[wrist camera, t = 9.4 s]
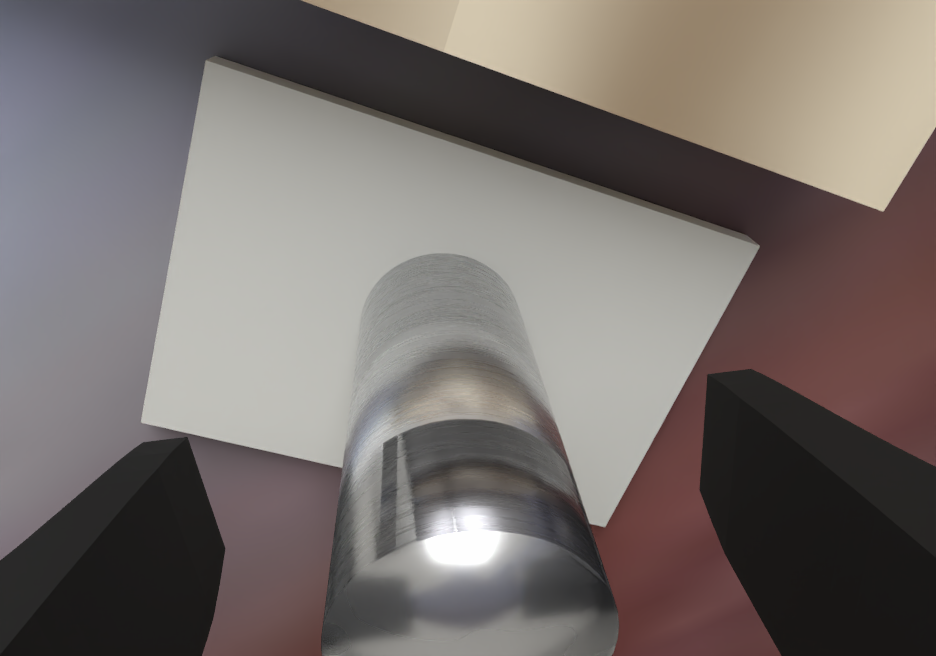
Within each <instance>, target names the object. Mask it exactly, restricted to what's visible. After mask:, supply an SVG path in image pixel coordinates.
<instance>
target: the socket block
mask: <svg viewBox="0 0 936 656" xmlns="http://www.w3.org/2000/svg"><path fill="white" fill-rule="evenodd" d="M301 1H304V2H307V3H310V4H312V5H315V6H318V7H321V8H324V9H326V10H329V11H332V12H335V13H337V14H340V15H343V16H346V17H348V18H351V19H354V20H357V21H359V22H362V23H365V24H368V25H370V26H373V27H376V28H379V29H381V30H384V31H387V32H390V33H392V34H395V35H398V36H401V37H403V38H406V39H409V40H412V41H414V42H417V43H420V44H423V45H425V46H428V47H431V48H434V49H436V50H439V51H442V52H445V53H448V54H450V55H453V56H456V57H459V58H461V59H464V60H467V61H470V62H472V63H475V64H478V65H481V66H483V67H486V68H489V69H492V70H494V71H497V72H500V73H503V74H505V75H508V76H511V77H514V78H516V79H519V80H522V81H525V82H527V83H530V84H533V85H536V86H538V87H541V88H544V89H547V90H549V91H552V92H555V93H558V94H561V95H563V96H566V97H569V98H572V99H574V100H577V101H580V102H583V103H585V104H588V105H591V106H594V107H596V108H599V109H602V110H605V111H607V112H610V113H613V114H616V115H618V116H621V117H624V118H627V119H629V120H632V121H635V122H638V123H640V124H643V125H646V126H649V127H651V128H654V129H657V130H660V131H662V132H665V133H668V134H671V135H674V136H676V137H679V138H682V139H685V140H687V141H690V142H693V143H696V144H698V145H701V146H704V147H707V148H709V149H712V150H715V151H718V152H720V153H723V154H726V155H729V156H731V157H734V158H737V159H740V160H742V161H745V162H748V163H751V164H753V165H756V166H759V167H762V168H764V169H767V170H770V171H773V172H775V173H778V174H781V175H784V176H786V177H789V178H792V179H795V180H798V181H800V182H803V183H806V184H809V185H811V186H814V187H817V188H820V189H822V190H825V191H828V192H831V193H833V194H836V195H839V196H842V197H844V198H847V199H850V200H853V201H855V202H858V203H861V204H864V205H866V206H869V207H872V208H875V209H877V210H880V211H883V212H884V210H885V208H886V207H887V205H888V204H889V202H890V200H891V199H892V197H893V195H894V194H895V192H896V191H897V189H898V187H899V186H900V184H901V182H902V181H903V179H904V178H905V176H906V174H907V173H908V171H909V169H910V168H911V166H912V165H913V163H914V161H915V160H916V158H917V156H918V155H919V153H920V152H921V150H922V148H923V147H924V145H925V144H926V142H927V140H928V139H929V137H930V135H931V134H932V132H933V131H934V129H935V127H936V0H301Z"/></svg>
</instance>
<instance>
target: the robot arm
mask: <svg viewBox="0 0 936 656" xmlns="http://www.w3.org/2000/svg"><path fill="white" fill-rule="evenodd" d="M700 492H701V495H702V497H703V500H704V503H705V505H706V508H707V510H708V513H709V516H710V518H711V521H712V524H713V526H714V528H715V531H716V533H717V536H718V538H719V541H720V543H721V545H722V548H723V550H724V553H725V555H726V556H727V558H728V560H729V562H730V564H731V566H732V568H733V570H734V571H735V573H736V575H737V577H738V579H739V580H740V582H741V584H742V586H743V588H744V589H745V591H746V593H747V595H748V597H749V598H750V600H751V602H752V604H753V606H754V607H755V609H756V611H757V613H758V615H759V616H760V618H761V620H762V622H763V623H764V625H765V627H766V629H767V631H768V632H769V634H770V636H771V638H772V639H773V641H774V643H775V645H776V647H777V648H778V650H779V652H780V654H781V655H782V656H936V467H935V466H933V465H931V464H929V463H927V462H925V461H923V460H921V459H919V458H917V457H915V456H913V455H911V454H909V453H907V452H905V451H903V450H901V449H899V448H897V447H895V446H894V445H892V444H890V443H888V442H886V441H884V440H882V439H880V438H878V437H877V436H875V435H873V434H871V433H869V432H867V431H865V430H864V429H862V428H860V427H858V426H856V425H854V424H853V423H851V422H849V421H847V420H845V419H843V418H842V417H840V416H838V415H836V414H834V413H833V412H831V411H829V410H827V409H825V408H824V407H822V406H820V405H818V404H816V403H815V402H813V401H811V400H809V399H808V398H806V397H804V396H802V395H800V394H799V393H797V392H795V391H793V390H791V389H789V388H788V387H786V386H784V385H782V384H780V383H778V382H776V381H775V380H773V379H771V378H769V377H767V376H765V375H763V374H761V373H759V372H756V371H754V370H752V369H748V370H739V371H731V372H723V373H715V374H708V376H707V391H706V405H705V420H704V434H703V449H702V463H701V477H700ZM224 554H225V546H224V543H223V540H222V537H221V534H220V532H219V529H218V526H217V523H216V520H215V517H214V514H213V511H212V508H211V505H210V502H209V499H208V496H207V493H206V490H205V487H204V485H203V482H202V479H201V476H200V473H199V470H198V467H197V464H196V461H195V458H194V455H193V452H192V449H191V446H190V443H189V440H188V438H187V437H184V438H176V439H167V440H159V441H151V442H143V443H141V444H140V445H139V446H137V447H136V448H135V449H133V450H132V451H131V452H129V453H128V454H127V455H125V456H124V457H123V458H122V459H120V460H119V461H118V462H117V463H116V464H114V465H113V466H112V467H111V468H110V469H108V470H107V471H106V472H105V473H104V474H102V475H101V476H100V477H99V478H98V479H97V480H95V481H94V482H93V483H92V484H91V485H90V486H88V487H87V488H86V489H85V490H84V491H83V492H81V493H80V494H79V495H78V496H77V497H76V498H74V499H73V500H72V501H71V502H70V503H69V504H67V505H66V506H65V507H64V508H63V509H62V510H60V511H59V512H58V513H57V514H56V515H54V516H53V517H52V518H51V519H50V520H49V521H47V522H46V523H45V524H44V525H43V526H42V527H40V528H39V529H38V530H37V531H36V532H34V533H33V534H32V535H31V536H30V537H29V538H27V539H26V540H25V541H24V542H23V543H22V544H20V545H19V546H18V547H17V548H15V549H14V550H13V551H12V552H11V553H9V554H8V555H7V556H5V557H4V558H3V559H2V560H0V656H202V654H203V650H204V647H205V644H206V641H207V637H208V634H209V631H210V627H211V624H212V621H213V617H214V612H215V606H216V601H217V596H218V591H219V585H220V579H221V573H222V566H223V560H224Z"/></svg>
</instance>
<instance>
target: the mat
mask: <svg viewBox="0 0 936 656" xmlns="http://www.w3.org/2000/svg"><path fill="white" fill-rule="evenodd" d="M759 247H760V246H759V245H758V244H757V243H756V242H754V241H753V240H752V239H751V238H750V237H748V236H747V235H745V234H742V233H739V232H736V231H733V230H730V229H727V228H724V227H721V226H718V225H715V224H712V223H709V222H706V221H703V220H700V219H697V218H694V217H691V216H689V215H686V214H683V213H680V212H677V211H674V210H671V209H668V208H665V207H662V206H659V205H656V204H653V203H650V202H647V201H644V200H641V199H638V198H635V197H632V196H629V195H626V194H623V193H620V192H617V191H614V190H611V189H609V188H606V187H603V186H600V185H597V184H594V183H591V182H588V181H585V180H582V179H579V178H576V177H573V176H570V175H567V174H564V173H561V172H558V171H555V170H552V169H549V168H546V167H543V166H540V165H537V164H534V163H531V162H529V161H526V160H523V159H520V158H517V157H514V156H511V155H508V154H505V153H502V152H499V151H496V150H493V149H490V148H487V147H484V146H481V145H478V144H475V143H472V142H469V141H466V140H463V139H460V138H457V137H454V136H451V135H449V134H446V133H443V132H440V131H437V130H434V129H431V128H428V127H425V126H422V125H419V124H416V123H413V122H410V121H407V120H404V119H401V118H398V117H395V116H392V115H389V114H386V113H383V112H380V111H377V110H374V109H372V108H369V107H366V106H363V105H360V104H357V103H354V102H351V101H348V100H345V99H342V98H339V97H336V96H333V95H330V94H327V93H324V92H321V91H318V90H315V89H312V88H309V87H306V86H303V85H300V84H297V83H294V82H292V81H289V80H286V79H283V78H280V77H277V76H274V75H271V74H268V73H265V72H262V71H259V70H256V69H253V68H250V67H247V66H244V65H241V64H238V63H235V62H232V61H229V60H226V59H223V58H220V57H217V56H213V57H211V58H209V59H207V60H206V61H205V67H204V73H203V78H202V84H201V89H200V95H199V101H198V106H197V112H196V117H195V123H194V128H193V134H192V140H191V145H190V151H189V156H188V162H187V168H186V173H185V179H184V184H183V190H182V195H181V201H180V207H179V212H178V218H177V223H176V229H175V235H174V240H173V246H172V251H171V257H170V262H169V268H168V274H167V279H166V285H165V290H164V296H163V302H162V307H161V313H160V318H159V324H158V329H157V335H156V341H155V346H154V352H153V357H152V363H151V369H150V374H149V380H148V385H147V391H146V396H145V402H144V408H143V413H142V419H141V423H145V424H149V425H154V426H158V427H162V428H167V429H171V430H176V431H180V432H185V433H189V434H194V435H198V436H202V437H207V438H211V439H216V440H220V441H225V442H229V443H234V444H238V445H242V446H247V447H251V448H256V449H260V450H265V451H269V452H273V453H278V454H282V455H287V456H291V457H296V458H300V459H305V460H309V461H313V462H318V463H322V464H327V465H331V466H336V467H340V468H342V467H343V459H344V451H345V443H346V435H347V427H348V419H349V411H350V403H351V394H352V386H353V378H354V370H355V362H356V354H357V346H358V338H359V330H360V322H361V315H362V310H363V307H364V304H365V301H366V299H367V297H368V295H369V293H370V291H371V290H372V289H373V287H374V286H375V284H376V283H377V282H378V281H379V280H380V279H381V278H382V277H383V276H384V275H385V274H386V273H387V272H389V271H390V270H391V269H392V268H394V267H396V266H397V265H399V264H401V263H403V262H405V261H407V260H409V259H412V258H415V257H418V256H422V255H428V254H437V253H448V254H457V255H462V256H466V257H469V258H472V259H475V260H477V261H479V262H481V263H483V264H485V265H487V266H488V267H490V268H491V269H493V270H494V271H495V272H496V273H497V274H499V275H500V276H501V277H502V278H503V280H504V281H505V282H506V283H507V284H508V286H509V287H510V289H511V290H512V292H513V294H514V296H515V299H516V301H517V304H518V307H519V310H520V313H521V316H522V319H523V322H524V325H525V328H526V331H527V334H528V338H529V341H530V344H531V347H532V350H533V353H534V356H535V359H536V362H537V365H538V368H539V371H540V374H541V377H542V380H543V383H544V386H545V389H546V393H547V396H548V399H549V402H550V405H551V408H552V411H553V414H554V417H555V420H556V423H557V426H558V429H559V432H560V435H561V438H562V441H563V445H564V448H565V451H566V454H567V457H568V460H569V463H570V466H571V469H572V472H573V475H574V478H575V481H576V484H577V487H578V490H579V493H580V496H581V500H582V503H583V506H584V509H585V512H586V515H587V518H588V521H589V524H593V525H598V526H602V527H605V526H606V525H607V523H608V521H609V519H610V517H611V515H612V514H613V512H614V510H615V508H616V506H617V505H618V503H619V501H620V499H621V497H622V496H623V494H624V492H625V490H626V488H627V487H628V485H629V483H630V481H631V479H632V477H633V476H634V474H635V472H636V470H637V468H638V467H639V465H640V463H641V461H642V459H643V458H644V456H645V454H646V452H647V450H648V448H649V447H650V445H651V443H652V441H653V439H654V438H655V436H656V434H657V432H658V430H659V429H660V427H661V425H662V423H663V421H664V420H665V418H666V416H667V414H668V412H669V410H670V409H671V407H672V405H673V403H674V401H675V400H676V398H677V396H678V394H679V392H680V391H681V389H682V387H683V385H684V383H685V381H686V380H687V378H688V376H689V374H690V372H691V371H692V369H693V367H694V365H695V363H696V362H697V360H698V358H699V356H700V354H701V353H702V351H703V349H704V347H705V345H706V343H707V342H708V340H709V338H710V336H711V334H712V333H713V331H714V329H715V327H716V325H717V324H718V322H719V320H720V318H721V316H722V314H723V313H724V311H725V309H726V307H727V305H728V304H729V302H730V300H731V298H732V296H733V295H734V293H735V291H736V289H737V287H738V285H739V284H740V282H741V280H742V278H743V276H744V275H745V273H746V271H747V269H748V267H749V266H750V264H751V262H752V260H753V258H754V257H755V255H756V253H757V251H758V249H759Z"/></svg>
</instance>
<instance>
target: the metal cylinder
mask: <svg viewBox="0 0 936 656" xmlns="http://www.w3.org/2000/svg"><path fill="white" fill-rule="evenodd" d="M618 628H619V621H618V611H617V607H616V604H615V601H614V597H613V594H612V591H611V588H610V585H609V582H608V579H607V576H606V573H605V570H604V567H603V564H602V561H601V558H600V555H599V551H598V548H597V545H596V542H595V539H594V536H593V533H592V530H591V527H590V524H589V521H588V518H587V515H586V512H585V509H584V506H583V503H582V500H581V496H580V493H579V490H578V487H577V484H576V481H575V478H574V475H573V472H572V469H571V466H570V463H569V460H568V457H567V454H566V451H565V448H564V445H563V441H562V438H561V435H560V432H559V429H558V426H557V423H556V420H555V417H554V414H553V411H552V408H551V405H550V402H549V399H548V396H547V393H546V389H545V386H544V383H543V380H542V377H541V374H540V371H539V368H538V365H537V362H536V359H535V356H534V353H533V350H532V347H531V344H530V341H529V338H528V334H527V331H526V328H525V325H524V322H523V319H522V316H521V313H520V310H519V307H518V304H517V301H516V299H515V296H514V294H513V292H512V290H511V289H510V287H509V286H508V284H507V283H506V282H505V281H504V280H503V278H502V277H501V276H500V275H499V274H497V273H496V272H495V271H494V270H493V269H491V268H490V267H488V266H487V265H485V264H483V263H481V262H479V261H477V260H475V259H472V258H469V257H466V256H462V255H457V254H448V253H437V254H428V255H422V256H418V257H415V258H412V259H409V260H407V261H405V262H403V263H401V264H399V265H397V266H396V267H394V268H392V269H391V270H390V271H389V272H387V273H386V274H385V275H384V276H383V277H382V278H381V279H380V280H379V281H378V282H377V283H376V284H375V286H374V287H373V289H372V290H371V291H370V293H369V295H368V297H367V299H366V301H365V304H364V307H363V310H362V315H361V322H360V330H359V338H358V346H357V354H356V362H355V370H354V378H353V386H352V394H351V403H350V411H349V419H348V427H347V435H346V443H345V451H344V459H343V467H342V475H341V483H340V491H339V500H338V508H337V516H336V524H335V532H334V540H333V548H332V556H331V564H330V572H329V580H328V588H327V597H326V605H325V613H324V621H323V629H322V637H321V651H322V656H612V654H613V652H614V649H615V646H616V642H617V638H618Z"/></svg>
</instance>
